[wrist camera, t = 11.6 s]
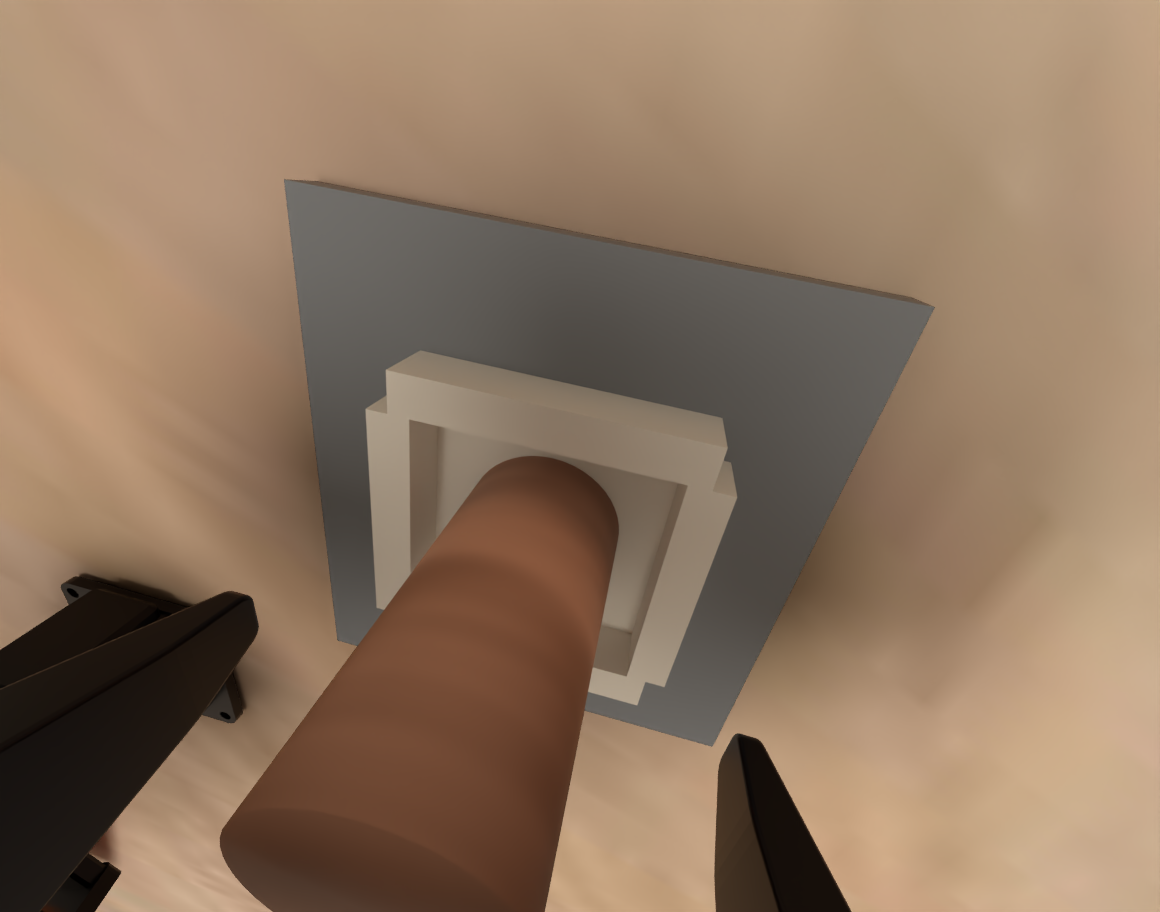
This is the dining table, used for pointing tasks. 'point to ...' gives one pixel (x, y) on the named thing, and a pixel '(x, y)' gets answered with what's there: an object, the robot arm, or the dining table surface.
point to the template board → (587, 419)
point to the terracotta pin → (447, 719)
